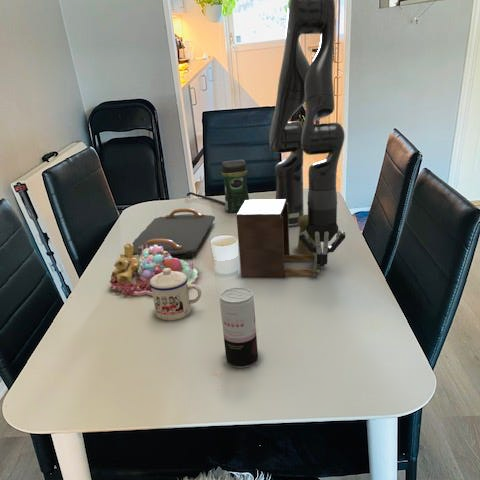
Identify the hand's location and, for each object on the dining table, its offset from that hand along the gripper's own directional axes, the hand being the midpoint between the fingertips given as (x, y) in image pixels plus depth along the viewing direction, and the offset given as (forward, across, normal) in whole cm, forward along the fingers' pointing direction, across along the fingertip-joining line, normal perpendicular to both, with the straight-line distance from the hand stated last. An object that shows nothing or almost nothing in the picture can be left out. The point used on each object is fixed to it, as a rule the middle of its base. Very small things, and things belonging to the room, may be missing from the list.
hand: (322, 265), depth 138 cm
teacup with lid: (+1, +34, +27) cm, 43 cm away
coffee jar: (+1, +35, -56) cm, 66 cm away
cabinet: (+1, +16, 0) cm, 16 cm away
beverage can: (+1, +14, +46) cm, 48 cm away
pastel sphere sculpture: (+1, +47, +8) cm, 47 cm away
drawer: (+1, +7, 0) cm, 7 cm away
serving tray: (+1, +50, -23) cm, 55 cm away
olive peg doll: (+1, +5, -13) cm, 14 cm away
